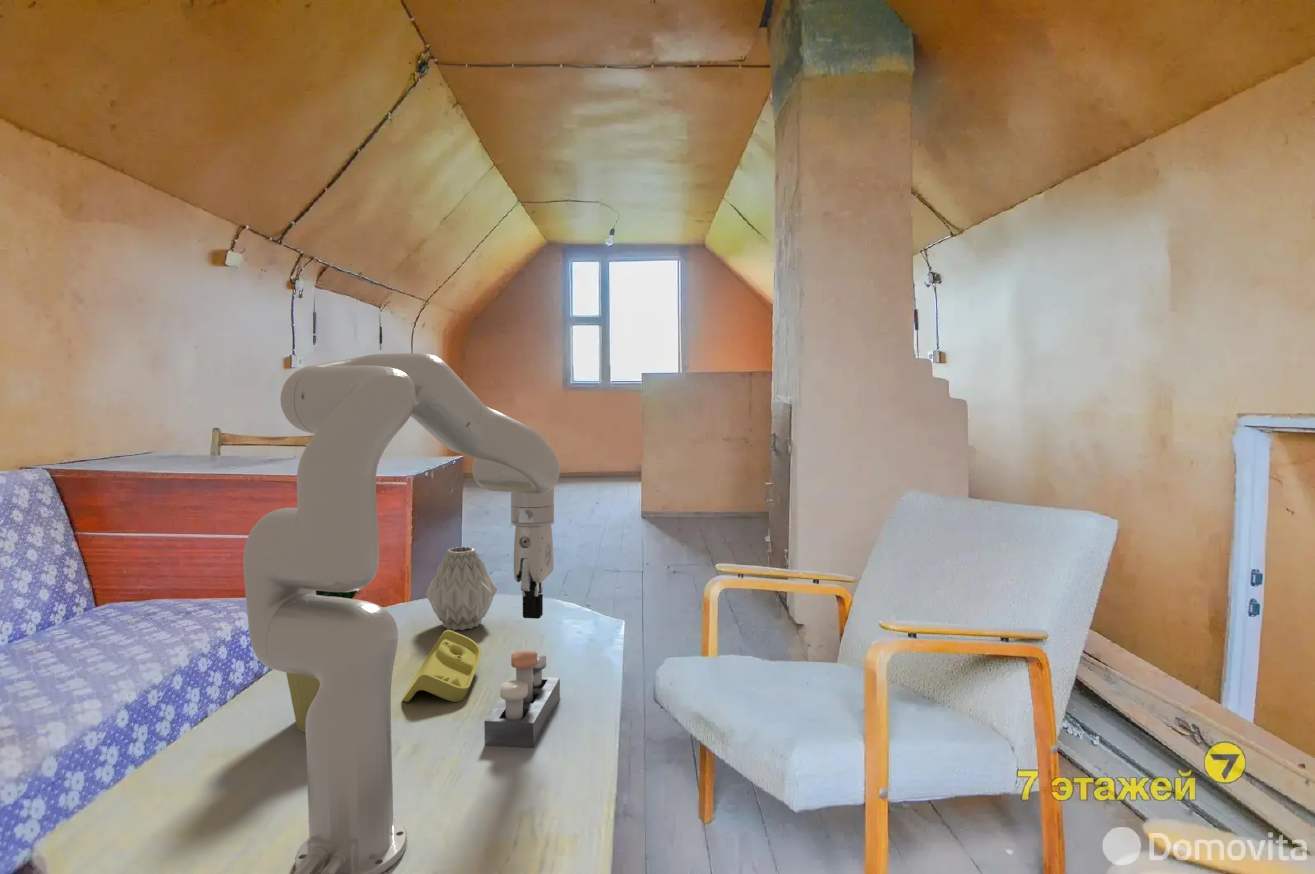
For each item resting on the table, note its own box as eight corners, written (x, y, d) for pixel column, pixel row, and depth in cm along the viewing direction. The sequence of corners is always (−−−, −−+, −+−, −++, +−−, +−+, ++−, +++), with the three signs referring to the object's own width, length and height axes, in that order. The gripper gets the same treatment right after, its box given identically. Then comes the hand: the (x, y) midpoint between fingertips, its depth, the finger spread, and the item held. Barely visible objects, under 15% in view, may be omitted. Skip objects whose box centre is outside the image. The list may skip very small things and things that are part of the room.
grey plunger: (543, 710, 128) (542, 663, 127) (518, 708, 129) (518, 662, 128) (549, 699, 132) (548, 654, 132) (525, 698, 133) (525, 653, 132)
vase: (510, 621, 177) (509, 546, 175) (459, 641, 163) (458, 560, 162) (463, 610, 185) (462, 539, 184) (411, 628, 171) (410, 551, 170)
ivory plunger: (523, 743, 116) (523, 691, 116) (497, 741, 117) (496, 690, 116) (531, 730, 121) (530, 680, 120) (505, 729, 121) (505, 679, 120)
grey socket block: (533, 747, 115) (533, 723, 115) (484, 744, 116) (484, 720, 116) (559, 699, 133) (559, 677, 133) (517, 697, 134) (517, 675, 134)
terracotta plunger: (533, 709, 122) (533, 660, 121) (508, 708, 122) (507, 659, 122) (540, 698, 126) (540, 651, 126) (515, 697, 127) (515, 650, 126)
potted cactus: (286, 749, 114) (279, 562, 112) (280, 711, 127) (274, 543, 125) (388, 726, 122) (384, 551, 120) (372, 693, 135) (368, 534, 133)
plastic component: (467, 691, 131) (415, 670, 130) (450, 726, 132) (399, 705, 130) (485, 644, 150) (441, 625, 149) (470, 675, 151) (426, 656, 150)
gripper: (542, 522, 120) (542, 631, 121) (563, 508, 135) (562, 605, 136) (498, 521, 121) (498, 629, 122) (523, 507, 136) (523, 604, 137)
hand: (532, 616), depth 129 cm, fingers closed
